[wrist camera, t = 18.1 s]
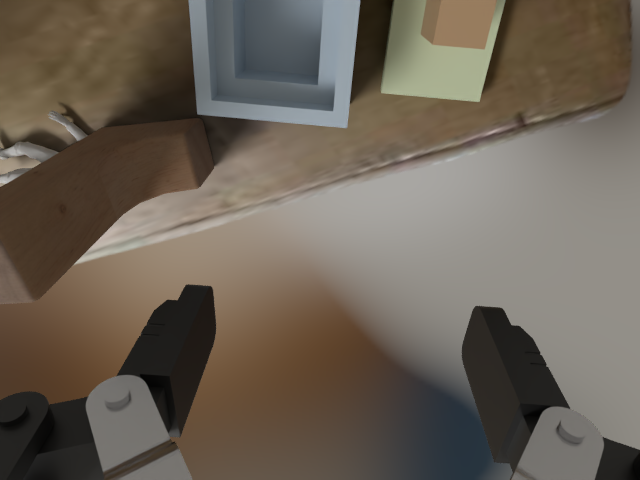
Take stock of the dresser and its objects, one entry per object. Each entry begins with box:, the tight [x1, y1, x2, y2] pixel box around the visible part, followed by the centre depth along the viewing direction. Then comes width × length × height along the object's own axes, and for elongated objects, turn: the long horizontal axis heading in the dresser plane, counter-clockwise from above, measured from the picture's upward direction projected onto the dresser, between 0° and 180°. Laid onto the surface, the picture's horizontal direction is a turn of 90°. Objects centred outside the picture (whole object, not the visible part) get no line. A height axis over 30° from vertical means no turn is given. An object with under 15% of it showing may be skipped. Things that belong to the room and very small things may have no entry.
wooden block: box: [0, 118, 214, 304], centre depth 29 cm, size 9×4×18 cm, turn 97°
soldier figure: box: [0, 111, 88, 183], centre depth 36 cm, size 8×5×12 cm
